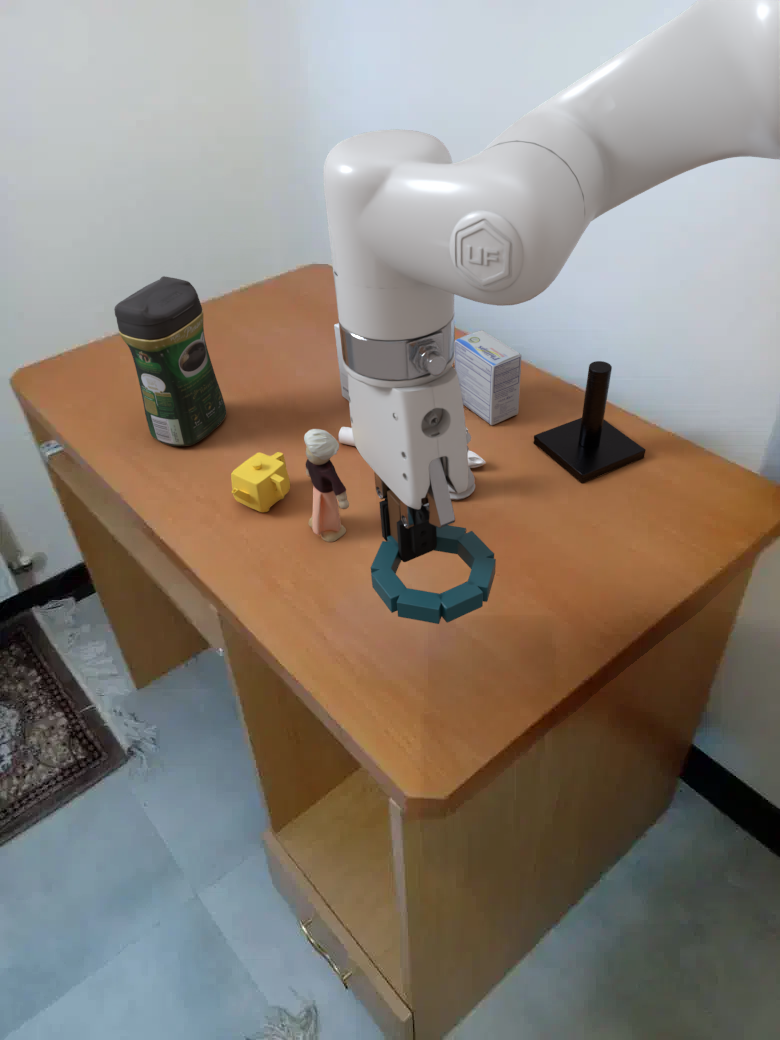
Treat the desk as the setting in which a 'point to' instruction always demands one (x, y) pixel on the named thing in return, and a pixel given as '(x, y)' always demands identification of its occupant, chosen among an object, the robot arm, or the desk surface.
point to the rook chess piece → (470, 480)
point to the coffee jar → (172, 361)
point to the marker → (348, 439)
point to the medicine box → (488, 376)
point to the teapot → (261, 481)
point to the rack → (590, 435)
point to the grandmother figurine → (325, 485)
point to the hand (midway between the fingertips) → (409, 542)
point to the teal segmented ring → (430, 603)
